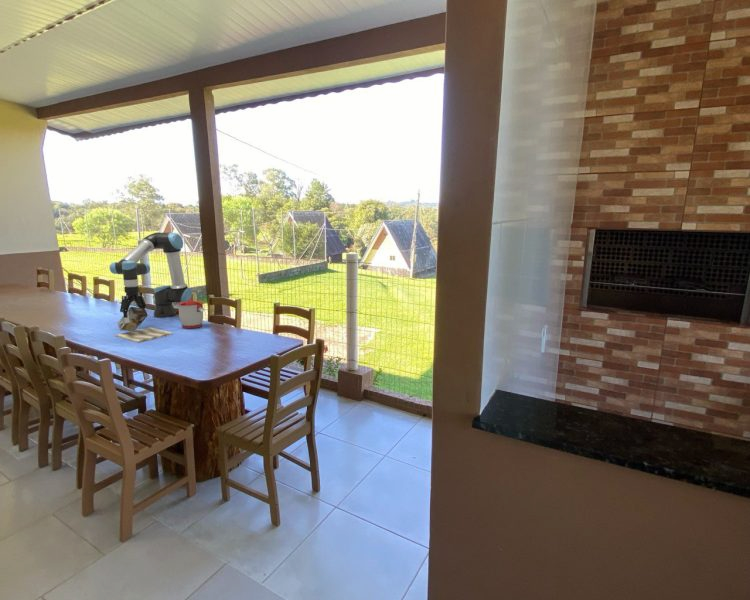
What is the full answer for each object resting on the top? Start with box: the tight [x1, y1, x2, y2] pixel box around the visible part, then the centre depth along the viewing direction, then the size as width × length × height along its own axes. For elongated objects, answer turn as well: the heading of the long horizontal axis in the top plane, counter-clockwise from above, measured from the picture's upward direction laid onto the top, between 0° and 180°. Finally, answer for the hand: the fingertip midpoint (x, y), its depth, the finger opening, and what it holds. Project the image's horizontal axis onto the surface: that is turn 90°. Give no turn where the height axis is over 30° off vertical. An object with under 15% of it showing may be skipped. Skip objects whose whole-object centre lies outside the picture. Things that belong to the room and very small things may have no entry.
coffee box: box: [116, 306, 149, 332], centre depth 238 cm, size 9×6×16 cm
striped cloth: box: [115, 327, 174, 343], centre depth 239 cm, size 22×24×1 cm
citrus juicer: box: [177, 298, 205, 329], centre depth 260 cm, size 16×17×20 cm
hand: (134, 320), depth 238 cm, fingers open, 11 cm apart
